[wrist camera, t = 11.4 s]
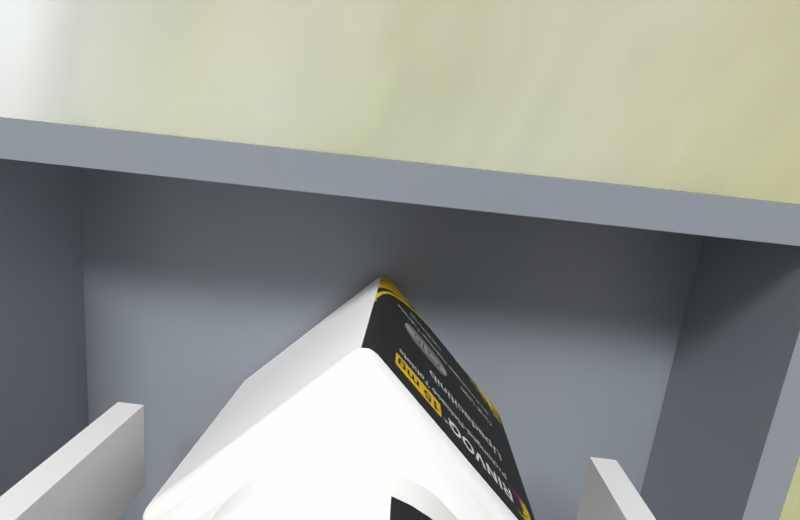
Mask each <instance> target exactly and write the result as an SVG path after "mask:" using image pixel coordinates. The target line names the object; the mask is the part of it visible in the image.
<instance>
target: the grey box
mask: <svg viewBox="0 0 800 520" xmlns="http://www.w3.org/2000/svg"><path fill="white" fill-rule="evenodd" d="M380 277H386V278H388V279H389V280H391V281H392V283H393V284H394V285H395V286H396V287H397V289H398V290H399V291H400V292H401V293H402V295H403V296H404V297H405V298H406V300H407V301H408V302H409V303H410V304H411V306H412V307H413V308H414V309H415V311H416V312H417V313H418V314H419V315H420V317H421V318H422V319H423V320H424V322H425V323H426V324H427V325H428V326H429V328H430V329H431V330H432V331H433V333H434V334H435V335H436V336H437V337H438V339H439V340H440V341H441V342H442V344H443V345H444V346H445V347H446V348H447V350H448V351H449V352H450V353H451V355H452V356H453V357H454V358H455V359H456V361H457V362H458V363H459V364H460V365H461V367H462V368H463V369H464V370H465V372H466V373H467V374H468V375H469V376H470V378H471V379H472V380H473V381H474V383H475V384H476V385H477V386H478V387H479V389H480V390H481V391H482V392H483V394H484V395H485V396H486V397H487V398H488V400H489V401H490V402H491V403H492V405H493V406H494V407H495V408H496V409H497V411H498V413H499V415H500V418H501V421H502V424H503V427H504V430H505V432H506V435H507V438H508V441H509V444H510V447H511V450H512V453H513V456H514V459H515V462H516V465H517V468H518V471H519V474H520V477H521V480H522V483H523V486H524V489H525V492H526V494H527V497H528V500H529V503H530V506H531V509H532V512H533V515H534V518H535V520H576V518H577V513H578V509H579V504H580V500H581V495H582V490H583V486H584V481H585V477H586V472H587V468H588V463H589V458H590V457H596V458H604V459H613V460H617V462H618V463H619V465H620V466H621V468H622V469H623V471H624V472H625V474H626V475H627V477H628V478H629V480H630V481H631V483H632V484H633V486H634V487H635V489H636V490H637V492H638V493H639V495H640V496H641V498H642V499H643V501H644V502H645V504H646V505H647V507H648V508H649V510H650V511H651V513H652V514H653V516H654V517H655V519H656V520H779V518H780V514H781V511H782V508H783V505H784V502H785V499H786V496H787V493H788V490H789V487H790V484H791V480H792V477H793V474H794V471H795V468H796V465H797V462H798V459H799V456H800V204H792V203H783V202H773V201H764V200H755V199H746V198H737V197H728V196H719V195H710V194H701V193H691V192H682V191H673V190H664V189H655V188H646V187H636V186H627V185H618V184H609V183H600V182H591V181H581V180H572V179H563V178H554V177H545V176H536V175H526V174H517V173H508V172H499V171H490V170H481V169H472V168H462V167H453V166H444V165H435V164H426V163H417V162H407V161H398V160H389V159H380V158H371V157H362V156H352V155H343V154H334V153H325V152H316V151H307V150H297V149H288V148H279V147H270V146H261V145H252V144H242V143H233V142H224V141H215V140H206V139H197V138H187V137H178V136H169V135H160V134H151V133H142V132H133V131H123V130H114V129H105V128H96V127H87V126H78V125H68V124H59V123H50V122H41V121H31V120H22V119H13V118H4V117H0V497H1V496H2V495H3V494H4V493H6V492H7V491H8V490H9V489H10V488H12V487H13V486H14V485H15V484H17V483H18V482H19V481H20V480H22V479H23V478H24V477H25V476H27V475H28V474H29V473H30V472H32V471H33V470H34V469H35V468H37V467H38V466H39V465H40V464H42V463H43V462H44V461H45V460H47V459H48V458H49V457H50V456H51V455H53V454H54V453H55V452H56V451H58V450H59V449H60V448H61V447H63V446H64V445H65V444H66V443H68V442H69V441H70V440H71V439H73V438H74V437H75V436H76V435H78V434H79V433H80V432H81V431H83V430H84V429H85V428H86V427H88V426H89V425H90V424H91V423H92V422H94V421H95V420H96V419H97V418H99V417H100V416H101V415H102V414H104V413H105V412H106V411H107V410H109V409H110V408H111V407H112V406H114V405H115V404H116V403H117V402H123V403H132V404H140V405H144V470H145V487H144V488H143V489H142V490H141V491H140V493H139V494H138V495H137V496H136V497H135V499H134V500H133V501H132V502H131V503H130V505H129V506H128V507H127V508H126V509H125V511H124V512H123V513H122V514H121V515H120V517H119V518H118V519H117V520H143V514H144V511H145V509H146V508H147V506H148V505H149V503H150V502H151V501H152V500H153V498H154V497H155V496H156V494H157V493H158V492H159V490H160V489H161V488H162V487H163V485H164V484H165V483H166V481H167V480H168V479H169V478H170V476H171V475H172V474H173V472H174V471H175V470H176V469H177V467H178V466H179V465H180V463H181V462H182V461H183V459H184V458H185V457H186V456H187V454H188V453H189V452H190V450H191V449H192V448H193V447H194V445H195V444H196V443H197V441H198V440H199V439H200V438H201V436H202V435H203V434H204V432H205V431H206V430H207V429H208V427H209V426H210V425H211V423H212V422H213V421H214V419H215V418H216V417H217V416H218V414H219V413H220V412H221V410H222V409H223V408H224V407H225V405H226V404H227V403H228V401H229V400H230V399H231V398H232V396H233V395H234V394H235V392H236V391H237V390H238V388H239V387H240V386H241V385H242V383H243V382H244V381H245V380H246V379H247V378H249V377H250V376H251V375H253V374H254V373H255V372H257V371H258V370H259V369H260V368H262V367H263V366H264V365H266V364H267V363H268V362H269V361H271V360H272V359H273V358H275V357H276V356H277V355H279V354H280V353H281V352H282V351H284V350H285V349H286V348H288V347H289V346H290V345H292V344H293V343H294V342H295V341H297V340H298V339H299V338H301V337H302V336H303V335H304V334H306V333H307V332H308V331H310V330H311V329H312V328H314V327H315V326H316V325H317V324H319V323H320V322H321V321H323V320H324V319H325V318H326V317H328V316H329V315H330V314H332V313H333V312H334V311H336V310H337V309H338V308H339V307H341V306H342V305H343V304H345V303H346V302H347V301H348V300H350V299H351V298H352V297H354V296H355V295H356V294H358V293H359V292H360V291H361V290H363V289H364V288H365V287H367V286H368V285H369V284H370V283H372V282H373V281H374V280H376V279H378V278H380Z"/></svg>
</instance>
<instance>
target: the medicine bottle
mask: <svg viewBox="0 0 800 520" xmlns="http://www.w3.org/2000/svg"><path fill="white" fill-rule="evenodd" d="M143 520H535V518H534V515H533V512H532V509H531V506H530V503H529V500H528V497H527V494H526V492H525V489H524V486H523V483H522V480H521V477H520V474H519V471H518V468H517V465H516V462H515V459H514V456H513V453H512V450H511V447H510V444H509V441H508V438H507V435H506V432H505V430H504V427H503V424H502V421H501V418H500V415H499V413H498V411H497V409H496V408H495V407H494V406H493V405H492V403H491V402H490V401H489V400H488V398H487V397H486V396H485V395H484V394H483V392H482V391H481V390H480V389H479V387H478V386H477V385H476V384H475V383H474V381H473V380H472V379H471V378H470V376H469V375H468V374H467V373H466V372H465V370H464V369H463V368H462V367H461V365H460V364H459V363H458V362H457V361H456V359H455V358H454V357H453V356H452V355H451V353H450V352H449V351H448V350H447V348H446V347H445V346H444V345H443V344H442V342H441V341H440V340H439V339H438V337H437V336H436V335H435V334H434V333H433V331H432V330H431V329H430V328H429V326H428V325H427V324H426V323H425V322H424V320H423V319H422V318H421V317H420V315H419V314H418V313H417V312H416V311H415V309H414V308H413V307H412V306H411V304H410V303H409V302H408V301H407V300H406V298H405V297H404V296H403V295H402V293H401V292H400V291H399V290H398V289H397V287H396V286H395V285H394V284H393V283H392V281H391V280H389V279H388V278H386V277H380V278H378V279H376V280H374V281H373V282H372V283H370V284H369V285H368V286H367V287H365V288H364V289H363V290H361V291H360V292H359V293H358V294H356V295H355V296H354V297H352V298H351V299H350V300H348V301H347V302H346V303H345V304H343V305H342V306H341V307H339V308H338V309H337V310H336V311H334V312H333V313H332V314H330V315H329V316H328V317H326V318H325V319H324V320H323V321H321V322H320V323H319V324H317V325H316V326H315V327H314V328H312V329H311V330H310V331H308V332H307V333H306V334H304V335H303V336H302V337H301V338H299V339H298V340H297V341H295V342H294V343H293V344H292V345H290V346H289V347H288V348H286V349H285V350H284V351H282V352H281V353H280V354H279V355H277V356H276V357H275V358H273V359H272V360H271V361H269V362H268V363H267V364H266V365H264V366H263V367H262V368H260V369H259V370H258V371H257V372H255V373H254V374H253V375H251V376H250V377H249V378H247V379H246V380H245V381H244V382H243V383H242V385H241V386H240V387H239V388H238V390H237V391H236V392H235V394H234V395H233V396H232V398H231V399H230V400H229V401H228V403H227V404H226V405H225V407H224V408H223V409H222V410H221V412H220V413H219V414H218V416H217V417H216V418H215V419H214V421H213V422H212V423H211V425H210V426H209V427H208V429H207V430H206V431H205V432H204V434H203V435H202V436H201V438H200V439H199V440H198V441H197V443H196V444H195V445H194V447H193V448H192V449H191V450H190V452H189V453H188V454H187V456H186V457H185V458H184V459H183V461H182V462H181V463H180V465H179V466H178V467H177V469H176V470H175V471H174V472H173V474H172V475H171V476H170V478H169V479H168V480H167V481H166V483H165V484H164V485H163V487H162V488H161V489H160V490H159V492H158V493H157V494H156V496H155V497H154V498H153V500H152V501H151V502H150V503H149V505H148V506H147V508H146V509H145V511H144V514H143Z"/></svg>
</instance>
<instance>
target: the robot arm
mask: <svg viewBox="0 0 800 520" xmlns="http://www.w3.org/2000/svg"><path fill="white" fill-rule="evenodd" d="M144 487H145V470H144V405H140V404H132V403H123V402H117V403H116V404H115V405H114V406H112V407H111V408H110V409H109V410H107V411H106V412H105V413H104V414H102V415H101V416H100V417H99V418H97V419H96V420H95V421H94V422H92V423H91V424H90V425H89V426H88V427H86V428H85V429H84V430H83V431H81V432H80V433H79V434H78V435H76V436H75V437H74V438H73V439H71V440H70V441H69V442H68V443H66V444H65V445H64V446H63V447H61V448H60V449H59V450H58V451H56V452H55V453H54V454H53V455H51V456H50V457H49V458H48V459H47V460H45V461H44V462H43V463H42V464H40V465H39V466H38V467H37V468H35V469H34V470H33V471H32V472H30V473H29V474H28V475H27V476H25V477H24V478H23V479H22V480H20V481H19V482H18V483H17V484H15V485H14V486H13V487H12V488H10V489H9V490H8V491H7V492H6V493H4V494H3V495H2V496H1V497H0V520H117V519H118V518H119V517H120V515H121V514H122V513H123V512H124V511H125V509H126V508H127V507H128V506H129V505H130V503H131V502H132V501H133V500H134V499H135V497H136V496H137V495H138V494H139V493H140V491H141V490H142V489H143V488H144ZM576 520H656V519H655V517H654V516H653V514H652V513H651V511H650V510H649V508H648V507H647V505H646V504H645V502H644V501H643V499H642V498H641V496H640V495H639V493H638V492H637V490H636V489H635V487H634V486H633V484H632V483H631V481H630V480H629V478H628V477H627V475H626V474H625V472H624V471H623V469H622V468H621V466H620V465H619V463H618V462H617V460H613V459H604V458H596V457H590V458H589V463H588V468H587V472H586V477H585V481H584V486H583V490H582V495H581V500H580V504H579V509H578V513H577V518H576Z"/></svg>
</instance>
